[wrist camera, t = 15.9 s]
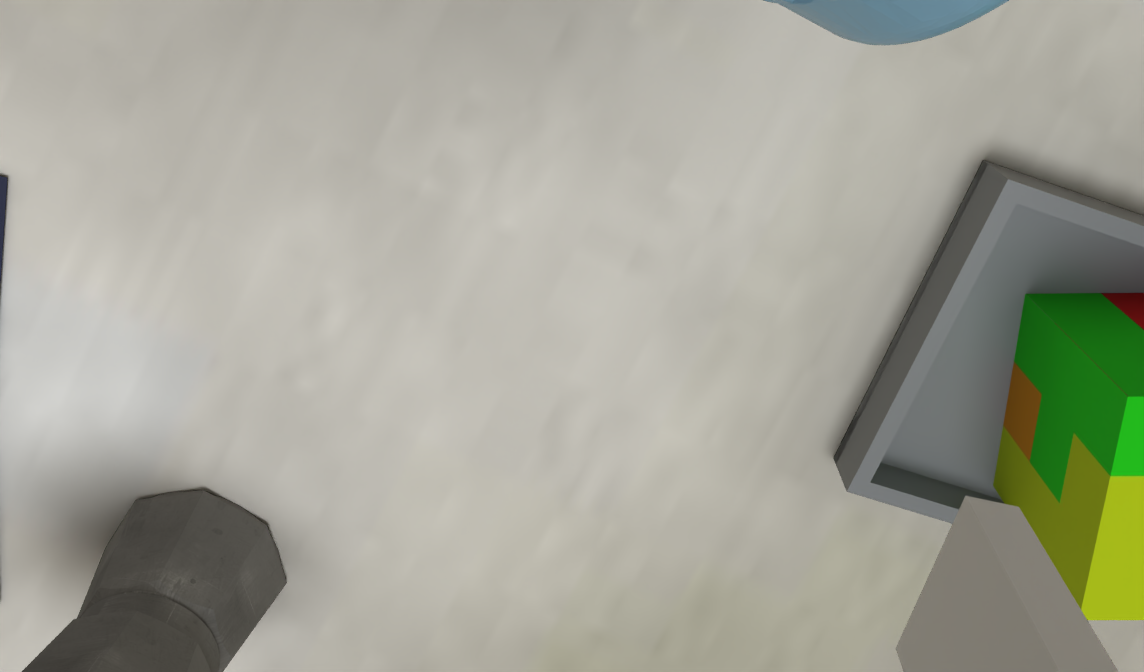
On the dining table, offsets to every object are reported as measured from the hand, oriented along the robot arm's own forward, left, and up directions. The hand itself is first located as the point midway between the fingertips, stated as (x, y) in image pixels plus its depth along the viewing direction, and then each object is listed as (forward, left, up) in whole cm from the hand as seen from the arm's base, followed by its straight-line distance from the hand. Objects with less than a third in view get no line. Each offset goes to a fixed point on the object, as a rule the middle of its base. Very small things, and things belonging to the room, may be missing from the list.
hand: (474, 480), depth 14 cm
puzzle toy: (+6, +29, -32) cm, 44 cm away
